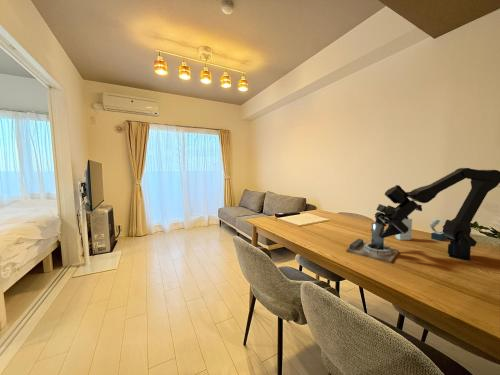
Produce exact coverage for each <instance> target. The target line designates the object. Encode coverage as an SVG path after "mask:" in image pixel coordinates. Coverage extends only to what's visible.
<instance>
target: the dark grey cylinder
mask: <svg viewBox="0 0 500 375" xmlns="http://www.w3.org/2000/svg"><path fill="white" fill-rule="evenodd" d="M384 225H385V224H383V223H379V222H375V221H373V222H371V229H372V231H371V237H370V238H371V240H370V243H371V248H373V249H377V250H384V245H385V238H381V237H380V236H381V234H382V233H383V232H384V231H385V227H384Z"/></svg>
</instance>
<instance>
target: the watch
mask: <svg viewBox="0 0 500 375" xmlns="http://www.w3.org/2000/svg"><path fill="white" fill-rule="evenodd" d="M440 221H441V222H443V223H444V224H445V222H446V220H445V219H443V218H440V219H439V218H435V219H433V220H432V221H431V222H430V223H429V226H430V227H429V228H430V229H431V231H432V232H431V236H430V237H431V239H432V240H436V241H439V242H443V241H447V240H448V239H447V237H446V236H445V235H444V233H443V231H442V232H441V231H437V230H436V228H435V227H437V226H438V225H439V224H440Z"/></svg>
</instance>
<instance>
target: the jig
mask: <svg viewBox="0 0 500 375" xmlns="http://www.w3.org/2000/svg"><path fill="white" fill-rule="evenodd" d="M345 250H346V251H345V252H346V253H350V254H355V255H358V256H362V257H366V258H369V259H373V260H377V261H381V262H386V263H388V264H389V263H390V264H391V263H392V262H393V261H394V259H395V258H396V257H397V255H398V253H399V252H400V249H398V248H397V249H396V248H393V247H390V246H389V245H387V244H384V250H377V249H373V248H371V242H364V239H363V238H362V239H361V238H357V239H356V240H354V241H353V242H352V243H350V244H349V247H348V248H347V249H345Z"/></svg>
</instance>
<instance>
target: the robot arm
mask: <svg viewBox="0 0 500 375" xmlns="http://www.w3.org/2000/svg"><path fill="white" fill-rule="evenodd" d="M465 179H469V180H470V186H471V188H470V190H469V192H468V194H467V196H466V198H465V199H464V201H463V203H462V205H461V206H460V209H459V210H458V212H457V213H456V216H454V218H453V219H446V220H445V221H446V222H445V223H444V225H443V226H442V232H443V233H444V235H445V236H446V237H447V240H449V241H450V242H449V243H448V246H447V254H448V257H450V258H453V259H454V258H455V259H459V260H460V259H461V260H464V261H465V260H466V261H469V262H470V261H472V260H471V250H472V249H471V247H476V245H477V243H478V242H477V240H475V239H474V238H473V237H472V236H471V233H472V227H471V226H472V225H471V222H473V220H474V217H475V216H476V214H477V212H478V211H479V209H480V207H481V205H482V203H483V202H484V200H485V198H486V197H487V195H488V193H490V192H491V191H492V190H494V189H495V188H497V187H498V186H499V184H500V170H498V169H474V168H470V167H459V168H457V169H455V170H454V171H452V172H451V173H449V174H447V175H445V176H442V177H441V178H439V179H438V180H436V181H433V182H432V183H430V184H427V185H424V186H419V187H417V188H413V189H412V190H411V191H405V190H404V189H403V188H402V186H400V184H399V185H398V184H396V185H394V186H393V187H390V188H388V189H387V190H386V191H385V193H384V196H386V197H387V198H388V199H389V200H390V201H391V202H392V204H395V205H397V206H396V207H394V206H392V205H387V206H386V205H383V204H381V203H380V204H378V206H377V208H376V211H377V212H376V213H374V218H375V221H374V222H379V223H383V224H385V225H384V228H385V227H387V225H388V227H387V228H386V229H384V232H383V233H382V234H381V236H380V237H381V238H384V239H386V238H388V237H392V236H396V235H397V234H402V233H404V234H406V233H407V232H408V231H409V228H408V227H407V226H406V225H405V224H404V223H403V222H402V221H403V220H404V219H408V216H410V215H411V214H412V213H413V212H415V211H419V212H423V205H422V204H427V203H429V202H431V201H432V200H433V199H435V198H436V197H437V195H438V194H439V193H441V192H443V191H444V190H447V189H448V188H450V187H452V186H454V185H456V184H458V183H459V182H462V181H463V180H465ZM418 203H421V204H418ZM370 232H372V228H371V229H370Z"/></svg>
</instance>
